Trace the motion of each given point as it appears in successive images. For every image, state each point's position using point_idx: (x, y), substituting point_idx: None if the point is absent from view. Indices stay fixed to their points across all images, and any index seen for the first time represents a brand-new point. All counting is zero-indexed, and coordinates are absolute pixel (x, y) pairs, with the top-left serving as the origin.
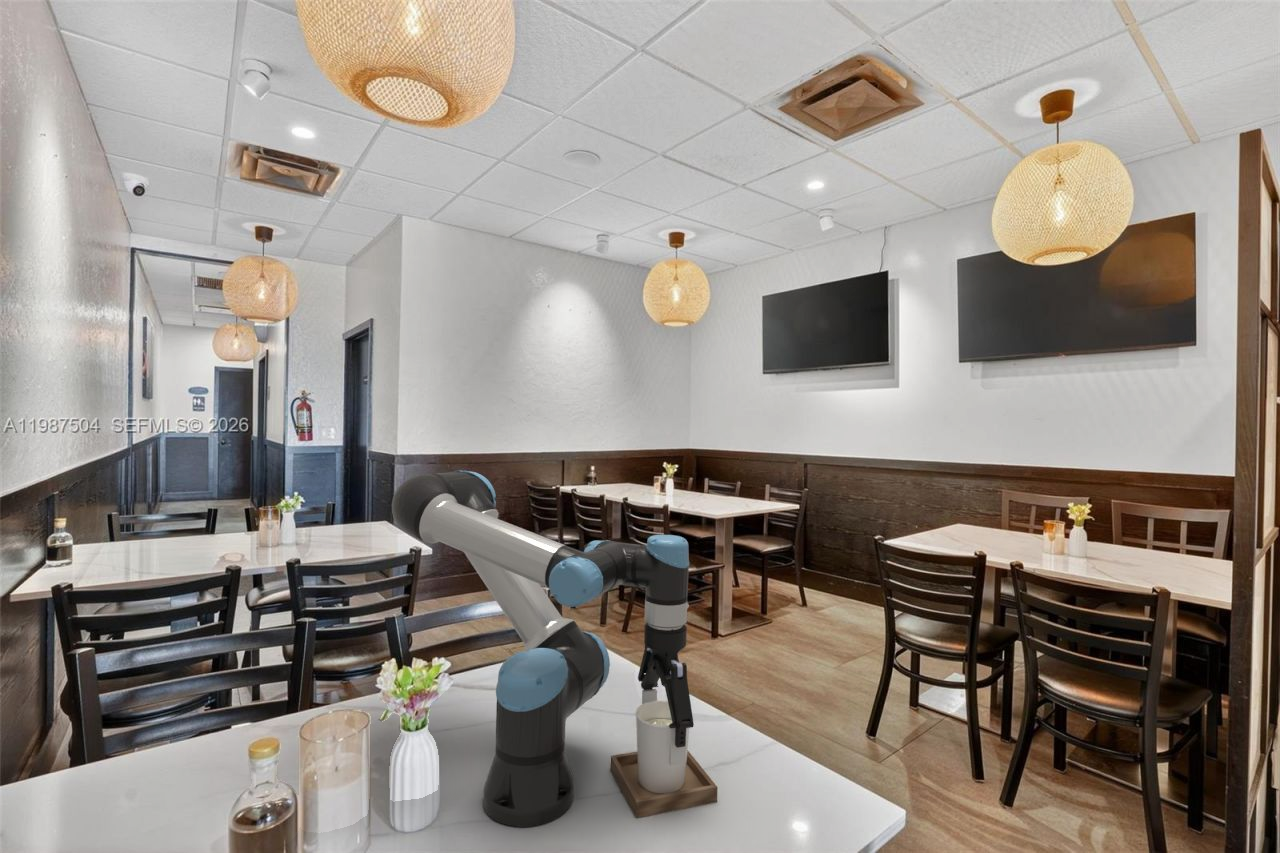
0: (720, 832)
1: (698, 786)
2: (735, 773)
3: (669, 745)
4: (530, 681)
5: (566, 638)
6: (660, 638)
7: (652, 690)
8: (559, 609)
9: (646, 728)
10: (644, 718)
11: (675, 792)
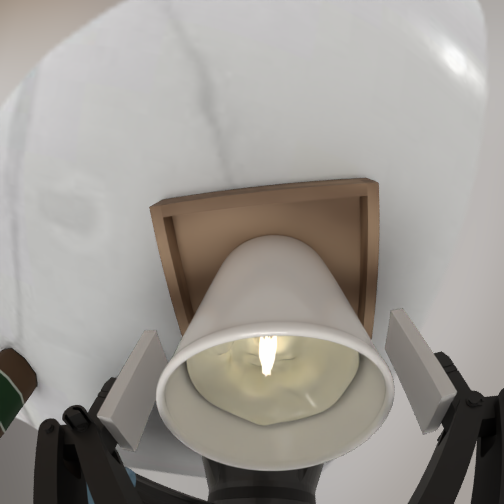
0: (445, 213)
1: (319, 208)
2: (259, 82)
3: (401, 383)
4: None
5: None
6: None
7: (116, 430)
8: None
9: (328, 444)
10: (200, 406)
11: (368, 291)
